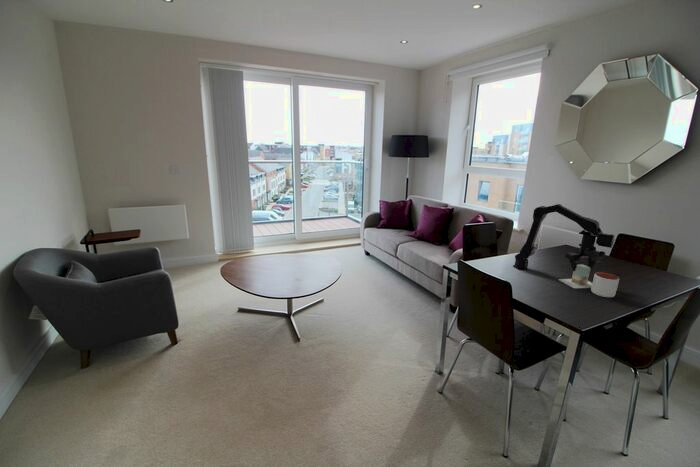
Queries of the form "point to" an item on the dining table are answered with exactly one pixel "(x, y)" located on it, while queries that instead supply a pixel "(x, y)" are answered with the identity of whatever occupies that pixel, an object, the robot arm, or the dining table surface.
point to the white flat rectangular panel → (568, 282)
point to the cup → (604, 284)
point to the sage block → (582, 271)
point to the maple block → (579, 280)
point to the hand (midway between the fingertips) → (581, 270)
